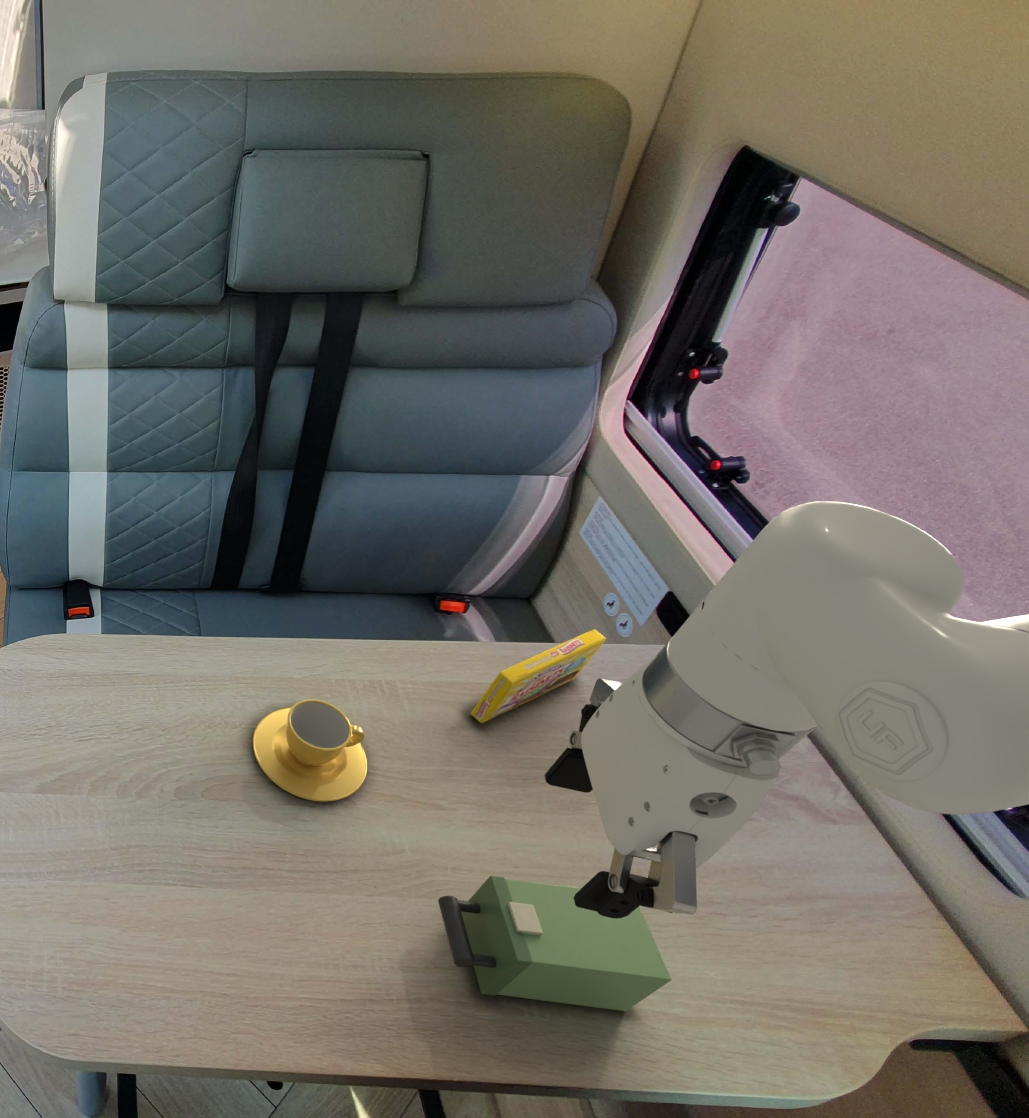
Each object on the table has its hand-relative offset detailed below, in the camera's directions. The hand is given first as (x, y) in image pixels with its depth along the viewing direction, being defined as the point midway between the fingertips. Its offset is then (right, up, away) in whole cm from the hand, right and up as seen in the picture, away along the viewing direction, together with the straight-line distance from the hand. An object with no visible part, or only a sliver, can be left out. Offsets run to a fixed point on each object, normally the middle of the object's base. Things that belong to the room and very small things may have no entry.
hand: (580, 842), depth 58 cm
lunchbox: (+12, -13, +11) cm, 21 cm away
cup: (-10, -1, +29) cm, 31 cm away
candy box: (+17, +4, +35) cm, 40 cm away
